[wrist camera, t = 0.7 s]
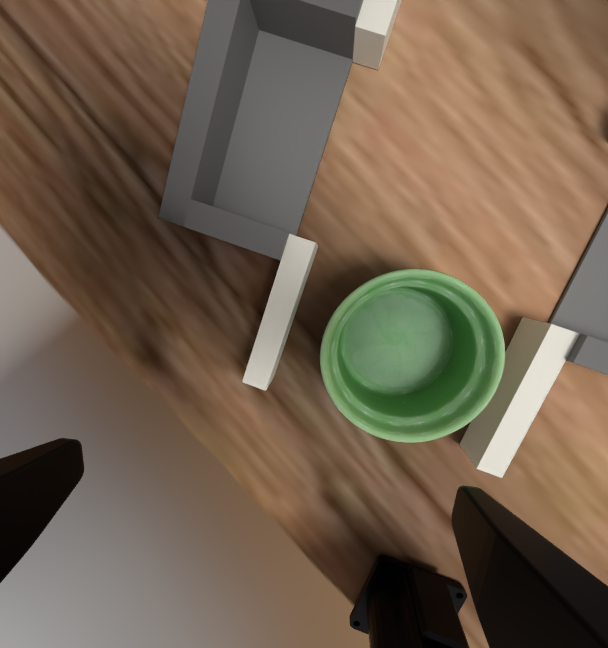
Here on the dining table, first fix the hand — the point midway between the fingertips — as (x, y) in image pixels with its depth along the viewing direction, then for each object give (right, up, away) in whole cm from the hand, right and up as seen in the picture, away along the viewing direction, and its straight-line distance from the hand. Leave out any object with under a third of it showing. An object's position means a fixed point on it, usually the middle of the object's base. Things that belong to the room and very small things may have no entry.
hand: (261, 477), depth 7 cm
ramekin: (+7, +3, +12) cm, 14 cm away
